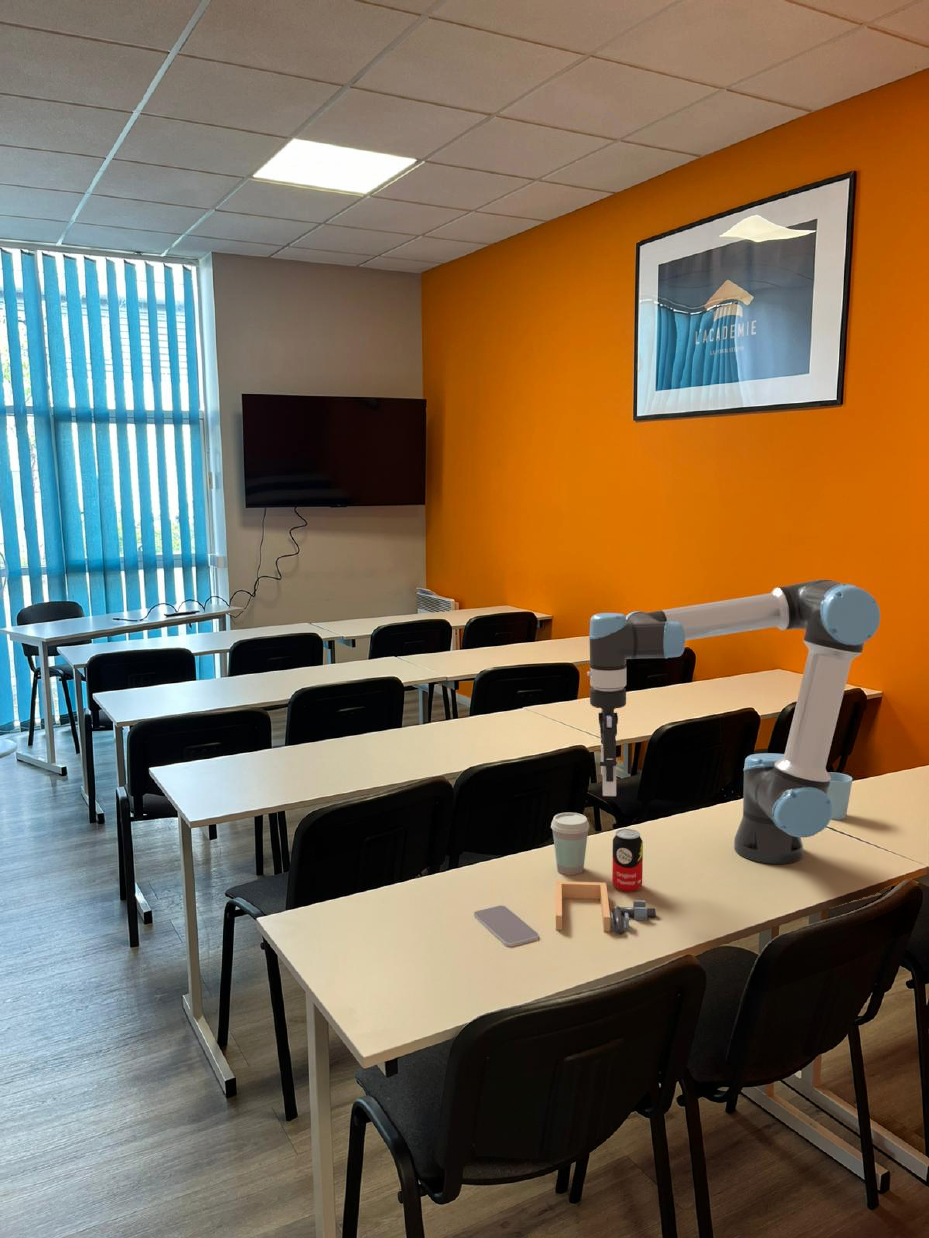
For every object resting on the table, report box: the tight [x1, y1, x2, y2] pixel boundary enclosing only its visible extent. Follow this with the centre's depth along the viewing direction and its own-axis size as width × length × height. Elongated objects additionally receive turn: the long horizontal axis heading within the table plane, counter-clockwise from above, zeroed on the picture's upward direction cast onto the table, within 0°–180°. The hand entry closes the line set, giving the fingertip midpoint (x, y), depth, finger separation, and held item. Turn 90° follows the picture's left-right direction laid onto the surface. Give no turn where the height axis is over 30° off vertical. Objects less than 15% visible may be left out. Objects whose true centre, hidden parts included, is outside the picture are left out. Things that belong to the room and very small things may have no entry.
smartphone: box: [473, 904, 540, 948], centre depth 175 cm, size 7×1×15 cm
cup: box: [827, 771, 853, 821], centre depth 229 cm, size 8×8×10 cm
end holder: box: [555, 880, 611, 933], centre depth 180 cm, size 10×15×3 cm
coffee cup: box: [550, 812, 590, 876], centre depth 200 cm, size 9×8×12 cm
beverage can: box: [611, 828, 644, 893], centre depth 191 cm, size 6×6×12 cm
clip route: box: [610, 899, 657, 936], centre depth 176 cm, size 9×10×2 cm
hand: (608, 784), depth 191 cm, fingers open, 13 cm apart
